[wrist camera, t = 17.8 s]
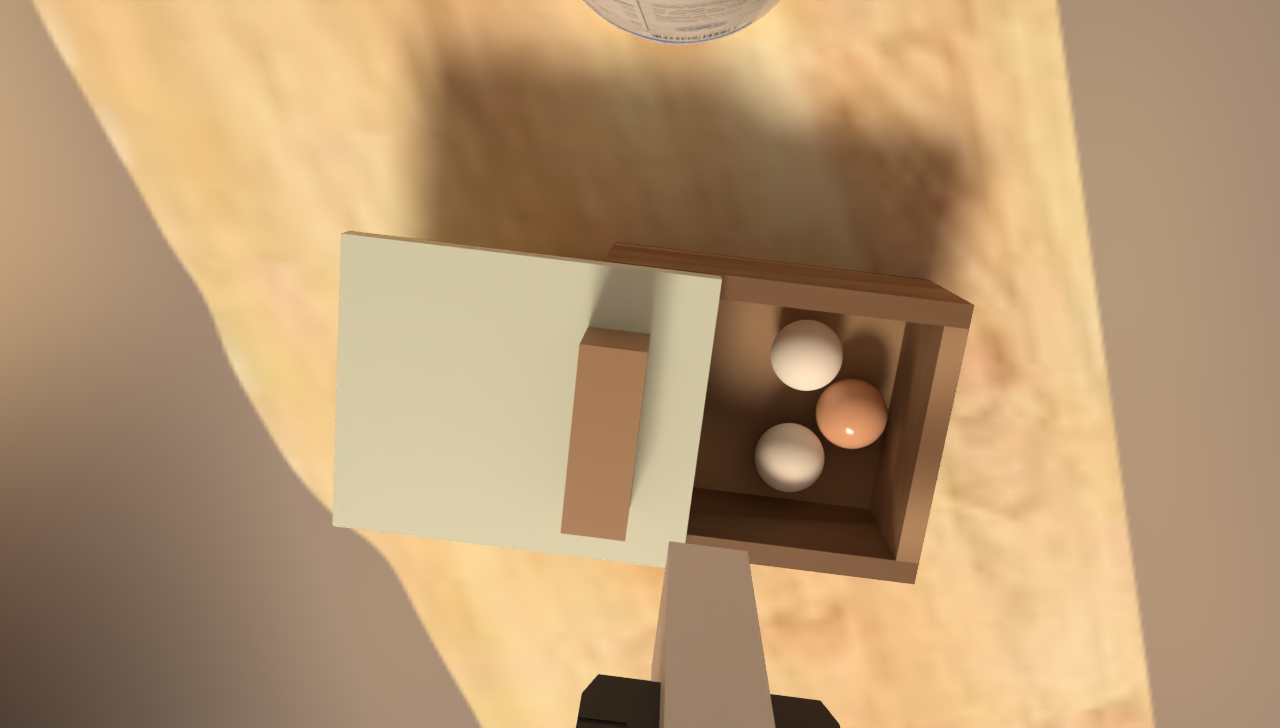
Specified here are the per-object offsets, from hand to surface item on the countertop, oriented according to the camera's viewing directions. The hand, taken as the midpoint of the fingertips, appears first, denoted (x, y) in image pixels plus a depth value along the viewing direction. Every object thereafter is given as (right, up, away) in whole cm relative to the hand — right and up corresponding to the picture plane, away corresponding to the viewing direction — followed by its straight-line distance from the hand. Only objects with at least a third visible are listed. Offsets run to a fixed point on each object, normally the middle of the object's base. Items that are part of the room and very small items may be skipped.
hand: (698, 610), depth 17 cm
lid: (-5, +3, +13) cm, 14 cm away
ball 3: (+7, +3, +17) cm, 19 cm away
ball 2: (+5, +2, +18) cm, 18 cm away
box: (+3, +4, +18) cm, 19 cm away
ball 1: (+5, +5, +17) cm, 18 cm away
